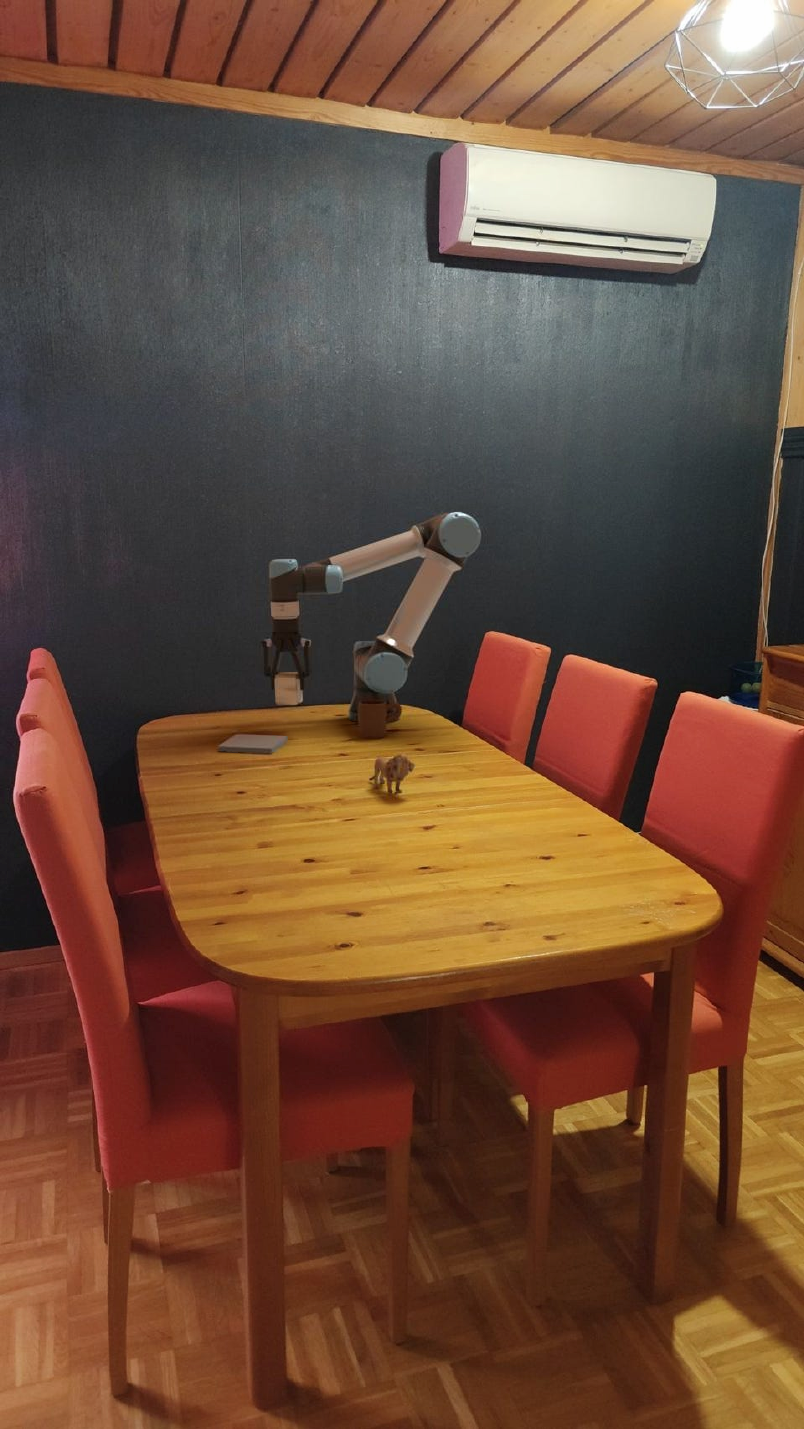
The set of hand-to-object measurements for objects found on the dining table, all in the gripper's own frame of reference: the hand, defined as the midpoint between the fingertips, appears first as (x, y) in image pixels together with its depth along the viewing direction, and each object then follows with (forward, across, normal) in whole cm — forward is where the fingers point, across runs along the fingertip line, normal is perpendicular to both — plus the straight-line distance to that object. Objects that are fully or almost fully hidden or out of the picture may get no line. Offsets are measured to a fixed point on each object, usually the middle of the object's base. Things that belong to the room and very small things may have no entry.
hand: (289, 701), depth 264 cm
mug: (+9, +25, 0) cm, 27 cm away
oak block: (0, 0, 0) cm, 0 cm away
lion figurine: (+9, +37, -52) cm, 64 cm away
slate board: (+8, -5, -18) cm, 21 cm away
